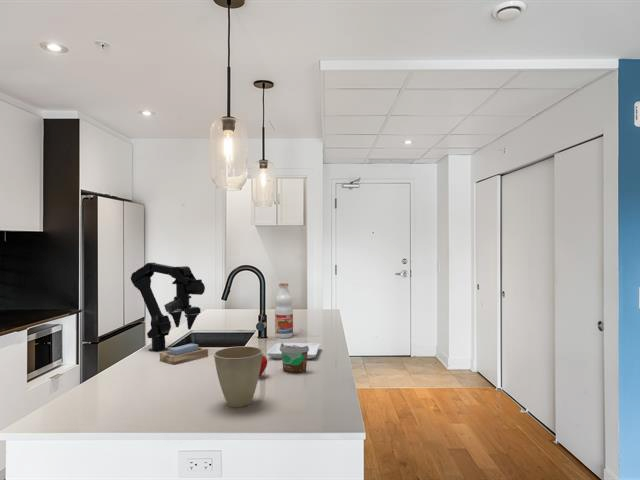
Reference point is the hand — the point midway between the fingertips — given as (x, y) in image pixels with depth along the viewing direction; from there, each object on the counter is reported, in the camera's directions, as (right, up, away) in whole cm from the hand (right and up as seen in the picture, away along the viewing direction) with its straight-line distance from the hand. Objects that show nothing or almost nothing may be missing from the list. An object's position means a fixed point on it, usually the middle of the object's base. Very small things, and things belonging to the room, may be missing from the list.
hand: (183, 328), depth 209 cm
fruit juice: (+44, -11, +32) cm, 55 cm away
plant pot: (+37, -11, -67) cm, 77 cm away
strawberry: (+40, -11, -40) cm, 57 cm away
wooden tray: (+4, -11, -11) cm, 16 cm away
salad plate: (+51, -11, -6) cm, 53 cm away
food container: (+51, -10, -34) cm, 62 cm away
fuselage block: (+4, -10, -11) cm, 15 cm away
